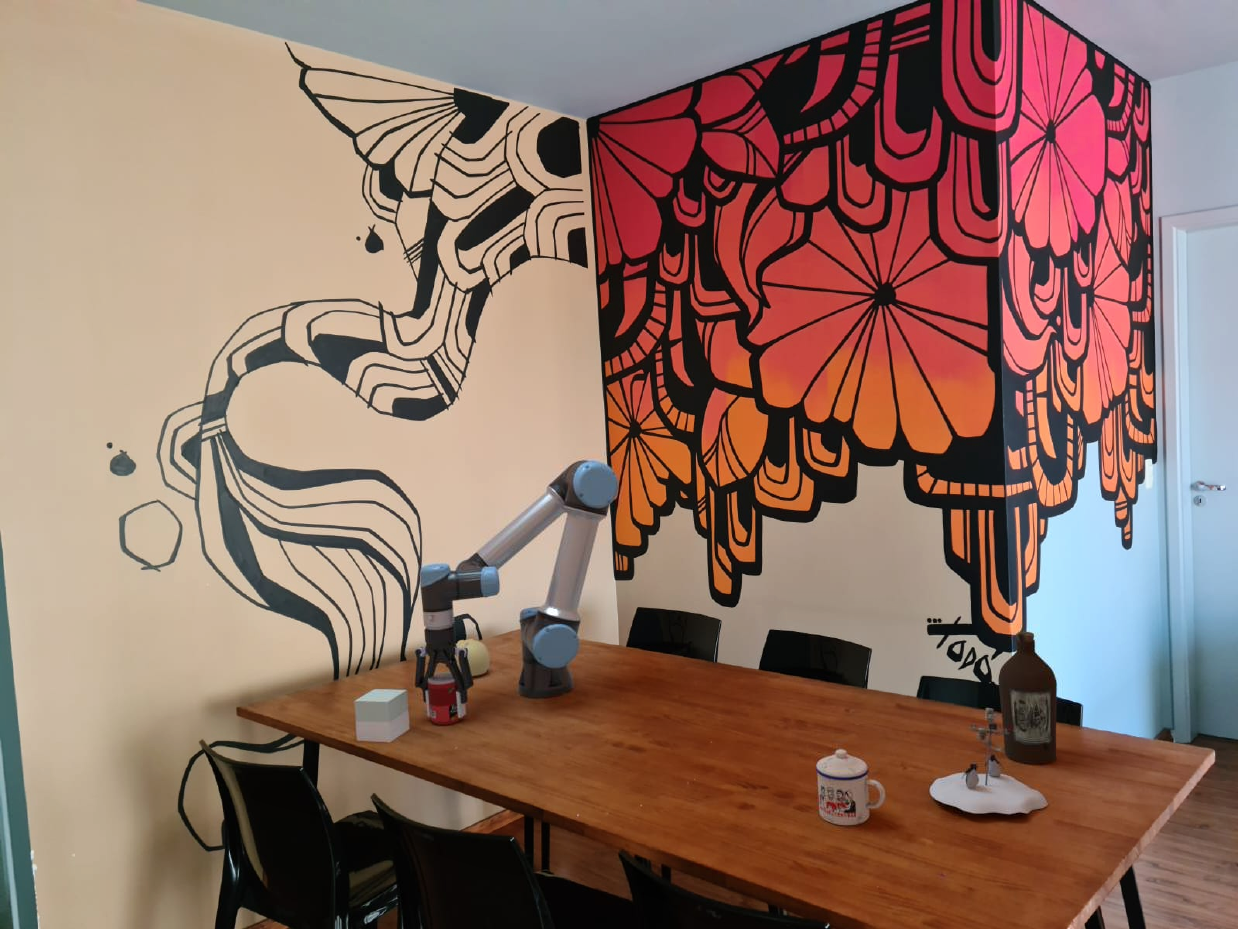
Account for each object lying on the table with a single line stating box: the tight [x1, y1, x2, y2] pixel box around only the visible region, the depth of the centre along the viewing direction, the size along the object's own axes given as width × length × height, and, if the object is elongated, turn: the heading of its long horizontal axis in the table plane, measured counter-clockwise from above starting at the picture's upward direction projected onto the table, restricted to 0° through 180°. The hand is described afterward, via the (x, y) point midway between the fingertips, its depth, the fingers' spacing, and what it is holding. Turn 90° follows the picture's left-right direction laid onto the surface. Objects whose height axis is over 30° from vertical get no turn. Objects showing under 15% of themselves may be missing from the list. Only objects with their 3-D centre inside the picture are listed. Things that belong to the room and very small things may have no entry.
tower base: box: [355, 709, 410, 743], centre depth 213 cm, size 9×9×5 cm
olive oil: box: [997, 631, 1058, 765], centre depth 175 cm, size 11×11×25 cm
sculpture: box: [450, 638, 491, 677], centre depth 260 cm, size 11×12×11 cm
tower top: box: [353, 688, 409, 723], centre depth 212 cm, size 9×9×5 cm
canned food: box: [428, 672, 463, 726], centre depth 220 cm, size 8×8×11 cm
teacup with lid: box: [815, 749, 886, 826], centre depth 154 cm, size 12×9×12 cm
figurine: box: [929, 707, 1049, 815], centre depth 158 cm, size 20×18×16 cm
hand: (446, 715), depth 220 cm, fingers closed on canned food, 8 cm apart
